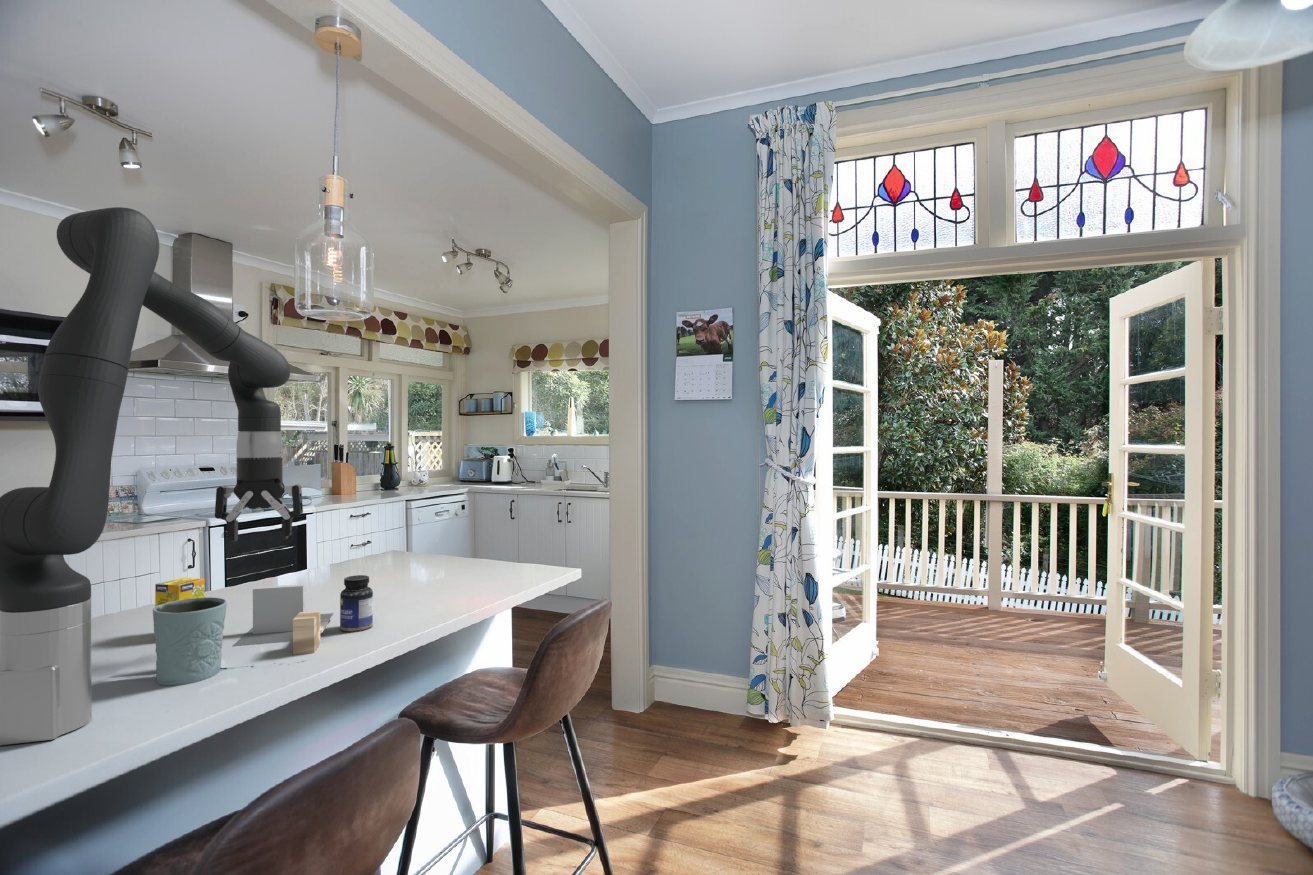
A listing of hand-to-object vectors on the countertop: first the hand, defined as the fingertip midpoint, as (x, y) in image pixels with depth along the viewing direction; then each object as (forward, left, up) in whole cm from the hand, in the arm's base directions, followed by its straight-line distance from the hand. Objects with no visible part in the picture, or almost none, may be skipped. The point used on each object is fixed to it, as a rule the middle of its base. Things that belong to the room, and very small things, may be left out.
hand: (260, 539), depth 123 cm
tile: (+7, -2, -20) cm, 21 cm away
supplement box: (+12, +17, -20) cm, 29 cm away
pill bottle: (+5, -16, -20) cm, 27 cm away
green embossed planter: (-14, +6, -20) cm, 26 cm away
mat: (+8, -3, -20) cm, 22 cm away
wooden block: (-3, -10, -20) cm, 23 cm away
